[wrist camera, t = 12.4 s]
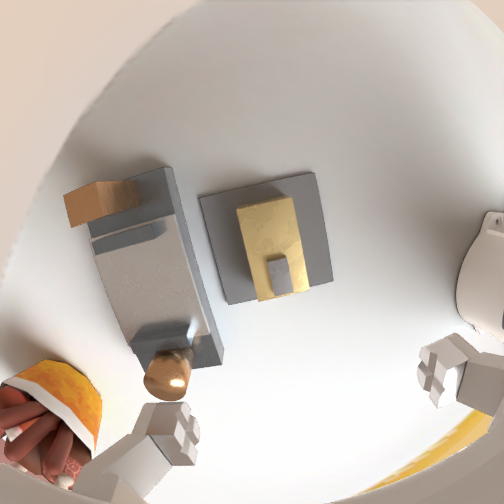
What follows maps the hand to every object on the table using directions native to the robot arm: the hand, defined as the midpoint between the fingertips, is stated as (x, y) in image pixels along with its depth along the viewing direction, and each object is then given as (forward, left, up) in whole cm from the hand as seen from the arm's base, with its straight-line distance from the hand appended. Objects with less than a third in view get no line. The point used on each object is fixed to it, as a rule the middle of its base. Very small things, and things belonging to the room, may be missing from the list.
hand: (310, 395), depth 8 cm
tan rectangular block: (0, -1, -20) cm, 20 cm away
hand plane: (+12, 0, -20) cm, 23 cm away
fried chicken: (+33, +14, -20) cm, 41 cm away
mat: (0, -1, -20) cm, 20 cm away
